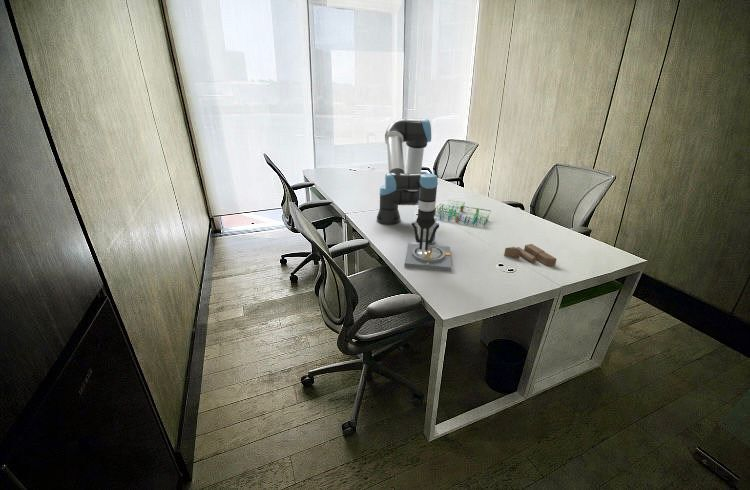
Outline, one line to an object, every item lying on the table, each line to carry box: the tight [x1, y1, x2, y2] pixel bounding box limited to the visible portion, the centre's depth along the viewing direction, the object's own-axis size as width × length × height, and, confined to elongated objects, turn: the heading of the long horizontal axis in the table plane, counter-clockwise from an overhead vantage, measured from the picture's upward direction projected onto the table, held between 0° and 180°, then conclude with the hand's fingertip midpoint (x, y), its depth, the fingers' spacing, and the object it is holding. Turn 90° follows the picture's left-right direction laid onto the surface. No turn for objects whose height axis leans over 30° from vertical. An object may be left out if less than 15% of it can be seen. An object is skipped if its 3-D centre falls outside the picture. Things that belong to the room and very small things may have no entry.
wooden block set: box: [503, 243, 557, 267], centre depth 165 cm, size 17×6×18 cm
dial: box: [416, 244, 441, 260], centre depth 163 cm, size 15×12×6 cm
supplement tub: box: [417, 215, 437, 245], centre depth 182 cm, size 10×10×15 cm
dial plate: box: [403, 243, 452, 272], centre depth 166 cm, size 22×22×3 cm
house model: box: [434, 199, 491, 228], centre depth 221 cm, size 35×30×5 cm
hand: (423, 255), depth 159 cm, fingers closed
